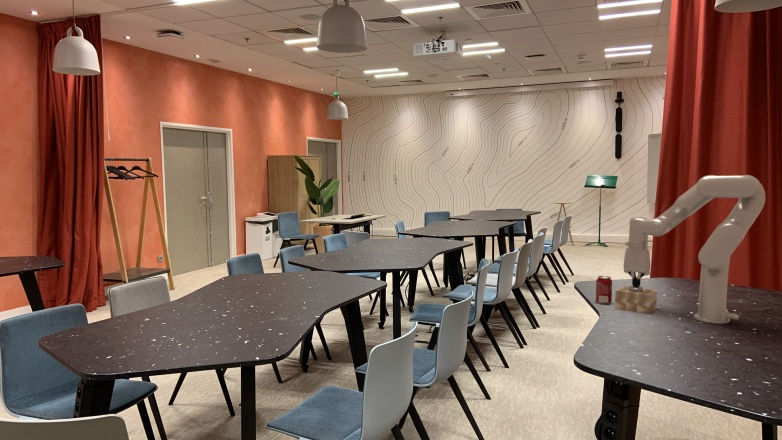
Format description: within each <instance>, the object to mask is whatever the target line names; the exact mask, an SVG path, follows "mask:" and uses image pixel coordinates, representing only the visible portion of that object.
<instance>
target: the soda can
mask: <svg viewBox="0 0 782 440" xmlns="http://www.w3.org/2000/svg"><path fill="white" fill-rule="evenodd" d="M612 297H613V280H612V277H611V276H607V275H599V276H597V279H596V282H595V302H596V303H597V304H600V305H609V304H611V303H612V300H613V299H612Z"/></svg>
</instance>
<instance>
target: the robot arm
mask: <svg viewBox="0 0 782 440" xmlns="http://www.w3.org/2000/svg"><path fill="white" fill-rule="evenodd" d="M760 182H761V181H759V179H758V178H756V177H754V176H753V175H751V174H750V175H749V174H743V175H713V174H708V175H704V176H702V177H701V178H699V180H698V181H697V182H696V183H695V184H694V185H692V187H690V188H689V189H688V190H686V191H685V192H684V193H683V194H681V195H680V196H679V197H678V198H677V199H676V200H675V202H674V203H673V204H672V205H671V206H670V207H669V208H668V209H666V210H665V211H664V212H662V214H660V215H659V216H658V217H655V218H647V217H642V216H634V217H631V218H630V220H629V228H628V229H629V230H628V232H629V233H628V241H625V243H624V244H625V246H627V247H626V249H625V253H624V259H623V273H625V274H628V275H629V276H630V277H631V280H632V281H631V286H633V287H634V288H635V287H636V288H638V287H639V286H641V279H642V278H643V277H644V276H645V277H646V276H651V254H650V249H649V247H648V245H649V243H648V242H649V236H651V237H661V236H663V235H665V234H668V233H669V232H670V231H671V230H673V229H674V228H675V227H676V226H678V225H679V224H681V223H682V222H683V221H684V220H686V219H688V218H689V217H690V216H693V214H694V213H696V212H697V211H698V210H700V209H701V208H702V207H703V206H705V205H706V204H708V203H709V202H710V201H712V200H714V199H715V198H722V199H724V198H725V199H729V198H730V199H738V201H737V202H736V203H735V205H734V206H733V208H732V210H731V211H730V213H729V214H728V216H727V217H726V218H725V220H723V221H722V222H721V223H720V224H718V225H717V226H716V227H715V229H714V230H713V232H712V233H711V235H710V236H709V237H708V239H707V240H706V241H705V243H704V245H703V246H702V247H701V248H700V250H699V252H698V258H697V259H698V262H699V264H700V265H701V267H700V277H699V278H700V279H699V292H698V293H699V296H698V298H699V299H698V312H696V313H694V314H693V318H694V319H695V320H697V321H699V322H703V323H709V324H720V325H721V324H728V323H730V322H731V321H730V320H737V321H738V320H739V314H737V313H731V312H730V311H728V310H729V309H728V308H727V297H728V296H727V294H728V281H729V272H730V271H729V269H730V260H731V255H732V254H733V253H734V252H735V250H736V248H738V246H739V245H740V244H741V242H742V241H743V240H744V238H745V236H746V234H747V232H748V231H749V230H750V228H751V227H752V225H753V224H754V223H755V221H756V219H757V218H758V217H759V215H760V213H761V212H762V210H763V208H764V205H765V204H766V191H765V189H764V186H763V184H762V183H760Z"/></svg>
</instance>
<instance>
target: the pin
mask: <svg viewBox="0 0 782 440" xmlns="http://www.w3.org/2000/svg"><path fill="white" fill-rule="evenodd" d="M628 287H629V290H630V291H633V292H643V289H644V287H643V286H641V285H640V286H639V287H638V288H636V287H635V288H634V287H633V285H630V286H628Z"/></svg>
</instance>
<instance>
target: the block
mask: <svg viewBox="0 0 782 440" xmlns="http://www.w3.org/2000/svg"><path fill="white" fill-rule="evenodd" d="M657 300H658V290H657V289H652V288H651V289H649V288H643V292H633V291H630V290H629V286H627V285H623V286H621V287H619V288H617V289H615V291H614V310H615V309H616V310H622V311H623V310H624V311H629V312H632V313H633V312H634V313H640V314H646V315H649V314H651V313H652V312H654V311H655V310H656V309H657V302H658V301H657Z"/></svg>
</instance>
